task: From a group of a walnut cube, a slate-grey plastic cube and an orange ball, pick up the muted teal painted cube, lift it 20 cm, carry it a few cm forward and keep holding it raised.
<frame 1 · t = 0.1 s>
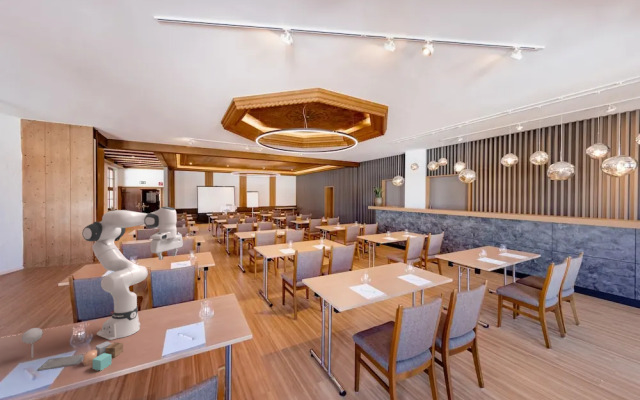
hand: (167, 257, 147), 48 cm above the table, fingers open, 8 cm apart
slate cube: (103, 354, 132), on the table
walnut cube: (114, 354, 132), on the table
lollipop: (32, 358, 128), on the table
teal cube: (102, 366, 122), on the table
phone: (63, 363, 125), on the table
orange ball: (90, 362, 125), on the table
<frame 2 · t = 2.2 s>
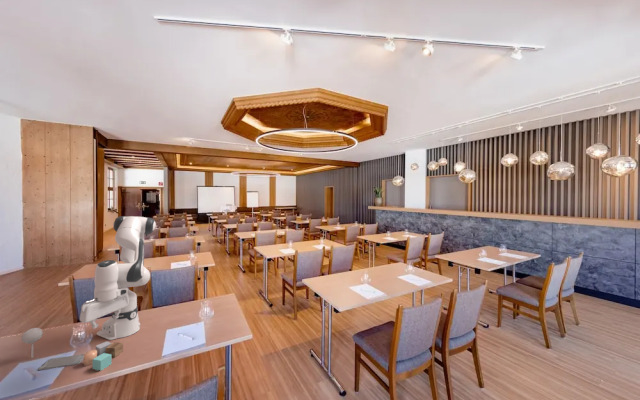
hand: (105, 323, 121), 22 cm above the table, fingers open, 8 cm apart
nothing on the table moved.
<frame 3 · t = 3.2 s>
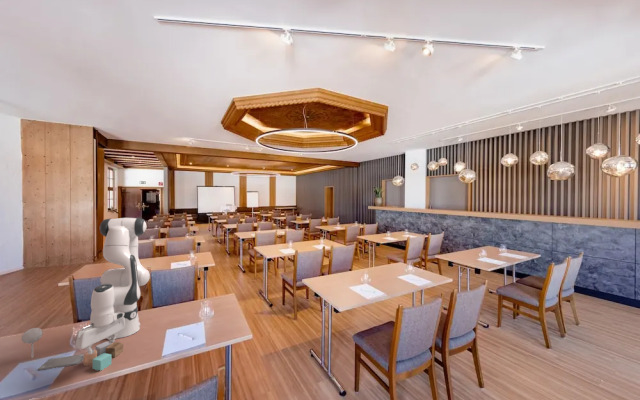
hand: (101, 347, 121), 10 cm above the table, fingers open, 8 cm apart
nothing on the table moved.
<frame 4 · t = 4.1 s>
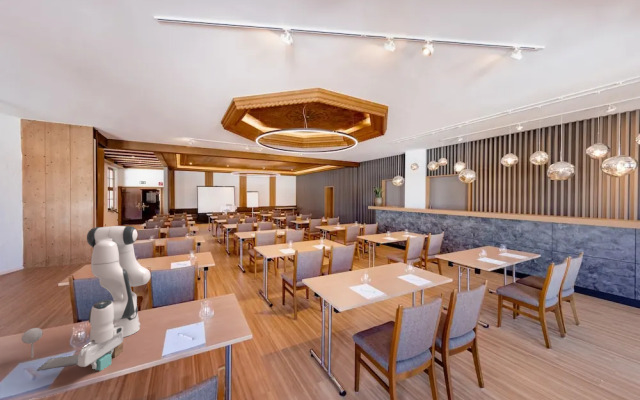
hand: (102, 363, 122), 2 cm above the table, fingers closed on teal cube, 5 cm apart
teal cube: (102, 366, 122), on the table, touching gripper
everything else where it was.
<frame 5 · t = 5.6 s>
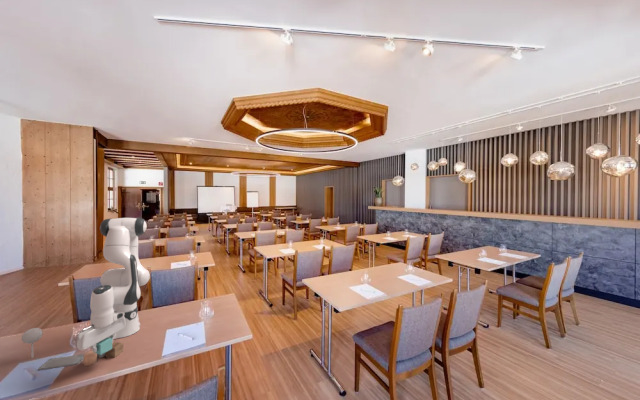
hand: (103, 347, 123), 9 cm above the table, fingers closed on teal cube, 5 cm apart
teal cube: (103, 350, 123), point 7 cm above the table, touching gripper
everything else where it was.
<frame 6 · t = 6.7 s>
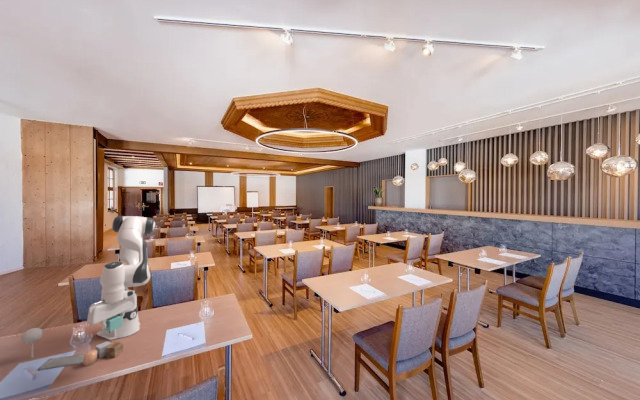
hand: (112, 324, 121), 21 cm above the table, fingers closed on teal cube, 5 cm apart
teal cube: (112, 328, 121), point 19 cm above the table, touching gripper
everything else where it was.
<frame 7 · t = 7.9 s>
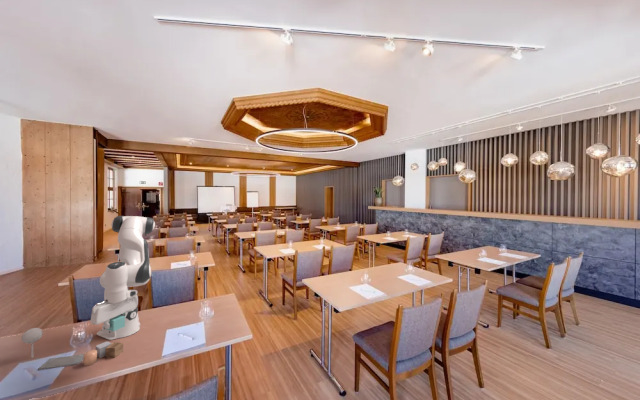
hand: (115, 324, 121), 21 cm above the table, fingers closed on teal cube, 5 cm apart
teal cube: (115, 328, 121), point 19 cm above the table, touching gripper
everything else where it was.
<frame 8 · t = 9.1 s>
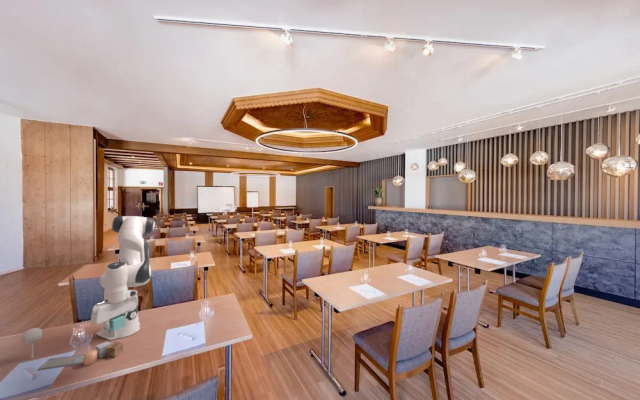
hand: (115, 324, 121), 21 cm above the table, fingers closed on teal cube, 5 cm apart
teal cube: (115, 327, 121), point 19 cm above the table, touching gripper
everything else where it was.
at the end: the gripper is holding teal cube; teal cube point 19.4 cm above the table; walnut cube moved 0.1 cm from its start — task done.
